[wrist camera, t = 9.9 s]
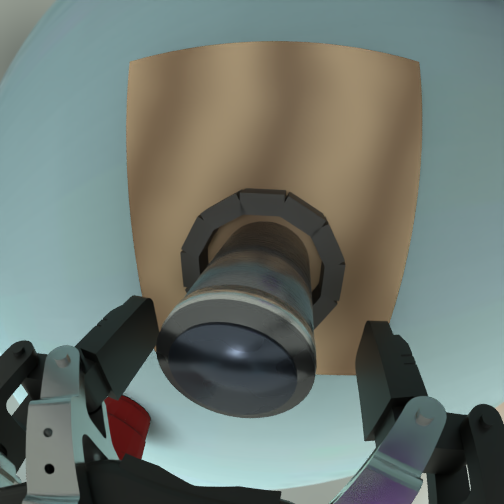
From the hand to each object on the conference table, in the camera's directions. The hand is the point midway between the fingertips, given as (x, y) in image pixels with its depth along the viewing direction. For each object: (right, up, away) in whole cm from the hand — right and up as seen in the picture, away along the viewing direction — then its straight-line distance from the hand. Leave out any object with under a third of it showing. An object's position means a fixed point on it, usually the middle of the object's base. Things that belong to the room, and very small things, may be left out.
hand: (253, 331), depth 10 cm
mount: (+1, +4, +6) cm, 7 cm away
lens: (+1, +2, +5) cm, 6 cm away
